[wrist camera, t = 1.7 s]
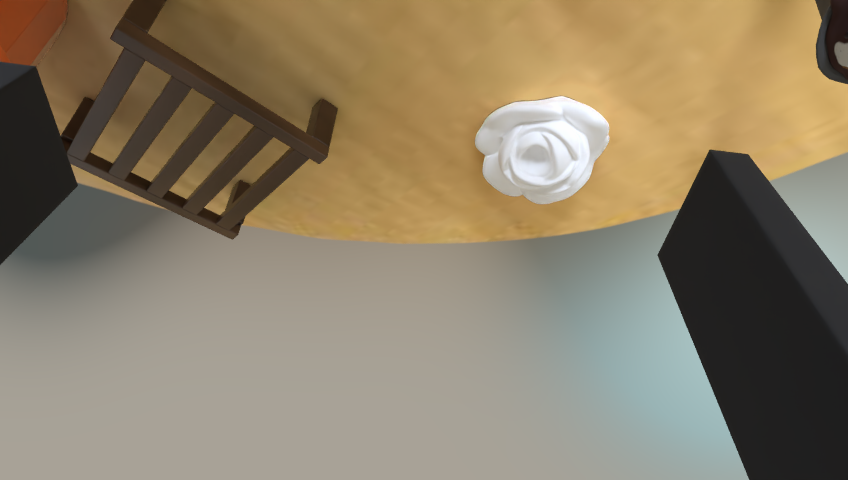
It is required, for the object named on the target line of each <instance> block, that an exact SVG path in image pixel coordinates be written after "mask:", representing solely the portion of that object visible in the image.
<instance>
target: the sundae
mask: <svg viewBox="0 0 848 480" xmlns="http://www.w3.org/2000/svg"><path fill="white" fill-rule="evenodd" d="M815 1H816V4H817V7H818V10H819V13H820V16H821V19H822V23H821V26H820V29H819V34H818V38H817V43H816V58H817V63H818V68H819V69H820V70H821V72H822V73H823V74H824V75H825V76H826V77H827V78H829V79H831V80H834V81H837V82H841V83H845V84H848V0H815Z"/></svg>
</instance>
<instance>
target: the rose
mask: <svg viewBox="0 0 848 480" xmlns="http://www.w3.org/2000/svg"><path fill="white" fill-rule="evenodd" d="M608 132H609V124H608V122H607V121H606V120H605V118H604V117H603V116H602V115H601V114H599V113H598V112H597V111H596V110H594V109H593V108H591V107H589V106H587V105H585V104H583V103H579V102H577V101H575V100H573V99H570V98H567V97H564V96H558V97H553V98H549V99H544V100H538V101H520V102H513V103H511V104H508V105H505V106H503V107H501V108H499V109H497V110H495V111H494V112H493V113H491V114H490V115H489V116H488V117H487V118H486V119H485V121H484V123H483V125H482V126H481V128H480V129H479V131H478V132H477V134H476V138H475V146H476V148H477V149H478V150H479V151H480V152H482V153H483V154H484V155H485V158H484V162H483V169H482V171H483V176H484V178H485V179H486V181H487V182H488V183H489V184H490V185H492V186H493V187H494V188H495V189H497V190H498V191H500V192H501V193H503V194H506V195H509V196H520V195H524V196H525V197H526V198H527V199H528V200H530V201H531V202H534V203H536V204H549V203H553V202H556V201H561V200H564V199H566V198H568V197H570V196H572V195H573V194H575V193H576V192H577V191H578V190H579V189H580V188H581V187H582V186H583V185H584V184H585V183H586V182H587V180H588V179H589V177H590V175H591V172H592V168H593V164H594V162H595V160H596V159H597V158H598V157H599V156H600V155H601V153H602V152H603V151H604V149H605V148H606V146H607V144H608V142H609V136H608Z"/></svg>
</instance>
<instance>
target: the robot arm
mask: <svg viewBox="0 0 848 480" xmlns="http://www.w3.org/2000/svg"><path fill="white" fill-rule="evenodd" d="M77 186H78V185H77V182H76V179H75V176H74V173H73V170H72V167H71V165H70V162H69V159H68V156H67V153H66V150H65V148H64V145H63V142H62V139H61V136H60V133H59V131H58V128H57V125H56V122H55V119H54V116H53V114H52V111H51V108H50V105H49V102H48V99H47V96H46V94H45V91H44V88H43V85H42V82H41V79H40V77H39V74H38V71H37V68H36V66H30V65H22V64H14V63H6V62H0V264H1V263H3V261H4V260H5V259H6V258H7V257H8V256H9V255H10V254H11V253H12V252H13V251H14V250H15V249H16V248H17V247H18V246H19V245H20V244H21V243H22V242H23V241H24V240H25V239H26V238H27V237H28V236H29V235H30V234H31V233H32V232H33V231H34V230H35V229H36V228H37V227H38V226H39V225H40V223H42V222H43V220H45V219H46V218H47V217H48V216H49V215H50V213H52V211H53V210H54V209H55V208H56V207H57V206H58V205H59V204H60V203H61V202H62V201H63V200H64V199H65V198H66V197H67V196H68V195H69V194H70V193H71V192H72V191H73V190H74V189H75V188H76V187H77ZM658 257H659V260H660V262H661V265H662V267H663V270H664V272H665V275H666V277H667V279H668V282H669V284H670V287H671V289H672V292H673V294H674V297H675V299H676V301H677V304H678V306H679V309H680V311H681V314H682V316H683V319H684V321H685V324H686V326H687V328H688V331H689V333H690V336H691V338H692V340H693V343H694V345H695V348H696V350H697V353H698V355H699V358H700V360H701V363H702V365H703V368H704V370H705V372H706V375H707V377H708V380H709V382H710V384H711V387H712V389H713V392H714V395H715V397H716V399H717V402H718V404H719V407H720V409H721V412H722V414H723V417H724V419H725V421H726V424H727V426H728V429H729V431H730V434H731V436H732V439H733V441H734V443H735V446H736V448H737V451H738V453H739V456H740V458H741V461H742V463H743V465H744V468H745V470H746V473H747V475H748V478H749V480H848V284H847V283H846V281H845V280H844V279H843V277H842V276H841V275H840V273H839V272H838V271H837V269H836V268H835V267H834V266H833V264H832V263H831V262H830V260H829V259H828V258H827V257H826V255H825V254H824V253H823V251H822V250H821V249H820V247H819V246H818V245H817V243H816V242H815V241H814V240H813V238H812V237H811V236H810V234H809V233H808V232H807V230H806V229H805V228H804V227H803V225H802V224H801V223H800V221H799V220H798V219H797V217H796V216H795V215H794V213H793V212H792V211H791V210H790V208H789V207H788V206H787V204H786V203H785V202H784V200H783V199H782V198H781V197H780V195H779V194H778V193H777V191H776V190H775V189H774V187H773V186H772V185H771V184H770V182H769V181H768V180H767V178H766V177H765V176H764V174H763V173H762V172H761V171H760V169H759V168H758V167H757V165H756V164H755V163H754V161H753V160H752V159H751V158H750V156H749V155H748V154H741V153H733V152H725V151H717V150H709V152H708V154H707V156H706V158H705V160H704V162H703V164H702V166H701V168H700V170H699V172H698V174H697V176H696V178H695V180H694V182H693V184H692V186H691V189H690V191H689V193H688V195H687V197H686V199H685V201H684V203H683V205H682V207H681V209H680V211H679V213H678V215H677V217H676V219H675V221H674V223H673V225H672V227H671V229H670V231H669V233H668V235H667V237H666V239H665V241H664V243H663V245H662V247H661V249H660V251H659V253H658Z"/></svg>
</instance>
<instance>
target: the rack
mask: <svg viewBox="0 0 848 480" xmlns="http://www.w3.org/2000/svg"><path fill="white" fill-rule="evenodd" d="M165 2H166V0H133V2H132V3H131V5H130V6H129V8H128V9H127V11H126V12H125V14H124V15H123V17H122V19H121V20H120V22H119V23H118V25H117V26H116V28H115V30H114V31H113V33H112V35H111V37H110V39H111V40H113V41H114V42H116V43H118V44H119V45H121V46H123V47H124V49H123V51H122V53H121V55H120V56H119V58H118V60H117V62H116V64H115V65H114V67H113V69H112V71H111V73H110V75H109V76H108V78H107V80H106V82H105V84H104V85H103V87H102V89H101V91H100V93H99V94H98V96H97V98H96V100H95V102H94V101H92V100H90V99H88V98H86V97H85V98H84V99H83V101H82V102H81V104H80V106H79V107H78V109H77V110H76V112H75V114H74V115H73V117H72V118H71V120H70V122H69V123H68V125H67V126H66V128H65V130H64V131H63V133H62V134H61V139H62V142H63V145H64V148H65V150H66V153H67V156H68V159H69V162H70V164H72V165H74V166H76V167H79V168H81V169H83V170H85V171H87V172H89V173H91V174H94V175H96V176H98V177H100V178H102V179H104V180H106V181H108V182H111V183H113V184H115V185H117V186H119V187H121V188H123V189H126V190H128V191H130V192H132V193H134V194H136V195H138V196H141V197H143V198H145V199H147V200H149V201H151V202H153V203H155V204H158V205H160V206H162V207H164V208H166V209H168V210H170V211H173V212H175V213H177V214H179V215H181V216H183V217H185V218H188V219H190V220H192V221H194V222H196V223H198V224H200V225H202V226H205V227H207V228H209V229H211V230H213V231H215V232H217V233H220V234H222V235H224V236H226V237H228V238H231V239H234V238H235V237H236V236H237V235H238V233H239V230H240V227H241V225H242V224H243V222H244V219H245V216H246V215H247V214H248V213H249V212H250V211H252V210H253V209H254V208H255V207H256V206H257V205H258V204H259V203H260V202H262V201H263V200H264V199H265V198H266V197H267V196H268V195H269V194H270V193H272V192H273V191H274V190H275V189H276V188H277V187H278V186H279V185H281V184H282V183H283V182H284V181H285V180H286V179H287V178H288V177H289V176H291V175H292V174H293V173H294V172H295V171H296V170H297V169H298V168H299V167H301V166H302V165H303V164H304V163H305V162H306V161H307V160H308V159H309V158H310V159H311V160H313V161H315V162H316V163H318V164H320V163H321V162H323V161H324V160H325V159H326V158H327V156H328V152H329V146H330V142H331V137H332V133H333V128H334V124H335V119H336V115H337V110H338V108H336V107H335V106H334V105H332V104H331V103H329V102H328V101H326V100H325V99H323V98H322V99H321V100H320V101H319V102H318V103H317V104H316V105H315V106H314V107H313V108H312V112H311V115H310V119H309V123H308V127H307V131H306V132H304V131H302V130H301V129H299V128H298V127H296V126H294V125H293V124H291V123H290V122H288V121H286V120H285V119H283V118H282V117H280V116H278V115H277V114H275V113H274V112H272V111H270V110H269V109H267V108H266V107H264V106H262V105H261V104H259V103H258V102H256V101H254V100H253V99H251V98H250V97H248V96H246V95H245V94H243V93H242V92H240V91H238V90H237V89H235V88H234V87H232V86H230V85H229V84H227V83H226V82H224V81H222V80H221V79H219V78H218V77H216V76H214V75H213V74H211V73H210V72H208V71H206V70H205V69H203V68H202V67H200V66H198V65H197V64H195V63H194V62H192V61H190V60H189V59H187V58H186V57H184V56H182V55H181V54H179V53H178V52H176V51H174V50H173V49H171V48H170V47H168V46H167V45H165V44H163V43H162V42H160V41H159V40H157V39H155V38H154V37H152V36H151V35H149V34H147V33H148V31H149V29H150V28H151V26H152V24H153V23H154V21H155V19H156V18H157V16H158V14H159V12H160V11H161V9H162V7H163V6H164V4H165ZM145 60H146V61H148V62H149V63H151V64H153V65H154V66H156V67H158V68H159V69H161V70H163V71H164V72H166V73H168V74H169V75H171V78H170V79H169V81H168V82H167V84H166V85H165V87H164V88H163V90H162V91H161V93H160V94H159V96H158V97H157V99H156V100H155V102H154V103H153V105H152V106H151V108H150V109H149V111H148V112H147V113H146V115H145V116H144V118H143V119H142V121H141V122H140V124H139V125H138V127H137V128H136V130H135V131H134V133H133V134H132V136H131V137H130V139H129V140H128V142H127V143H126V145H125V146H124V148H123V149H122V151H121V152H120V154H119V155H118V157H117V158H116V160H115V161H114V163H111V162H109V161H107V160H105V159H103V158H101V157H98V156H96V155H94V154H92V153H90V151H91V150H92V148H93V146H94V145H95V143H96V141H97V140H98V138H99V136H100V135H101V133H102V132H103V130H104V128H105V127H106V125H107V123H108V122H109V120H110V118H111V117H112V115H113V113H114V112H115V110H116V108H117V107H118V105H119V103H120V102H121V100H122V98H123V97H124V95H125V93H126V92H127V90H128V88H129V87H130V85H131V84H132V82H133V80H134V79H135V77H136V75H137V74H138V72H139V70H140V69H141V67H142V65H143V64H144V62H145ZM192 88H193V89H195V90H196V91H198V92H200V93H201V94H203V95H205V96H206V97H208V98H210V99H211V100H213V101H215V102H214V104H213V105H212V106H211V107H210V109H209V110H208V111H207V112H206V114H205V115H204V116H203V117H202V119H201V120H200V121H199V122H198V124H197V125H196V126H195V127H194V129H193V130H192V131H191V132H190V134H189V135H188V136H187V138H186V139H185V140H184V141H183V143H182V144H181V145H180V146H179V148H178V149H177V150H176V151H175V153H174V154H173V155H172V156H171V158H170V159H169V160H168V161H167V163H166V164H165V165H164V166H163V168H162V169H161V170H160V171H159V173H158V174H157V175H156V176H155V178H154V179H153V180H152V181H151V182H150V181H148V180H146V179H144V178H142V177H140V176H138V175H135V174H133V173H131V171H132V170H133V168H134V167H135V165H136V164H137V163H138V161H139V160H140V159H141V157H142V156H143V154H144V153H145V152H146V150H147V149H148V148H149V146H150V145H151V144H152V142H153V141H154V139H155V138H156V137H157V135H158V134H159V133H160V131H161V130H162V128H163V127H164V126H165V124H166V123H167V122H168V120H169V119H170V117H171V116H172V115H173V113H174V112H175V111H176V109H177V108H178V106H179V105H180V104H181V102H182V101H183V100H184V98H185V97H186V95H187V94H188V93H189V91H190V90H191V89H192ZM234 113H235V114H236V115H238V116H240V117H241V118H243V119H245V120H246V121H248V122H250V123H251V124H253V125H255V126H254V127H253V128H252V129H251V130H250V131H249V132H248V133H247V134H246V135H245V136H244V138H243V139H242V140H241V141H240V142H239V143H238V144H237V145H236V146H235V147H234V148H233V150H232V151H231V152H230V153H229V154H228V155H227V156H226V157H225V158H224V159H223V160H222V161H221V163H220V164H219V165H218V166H217V167H216V168H215V169H214V170H213V171H212V172H211V173H210V175H209V176H208V177H207V178H206V179H205V180H204V181H203V182H202V183H201V184H200V185H199V186H198V188H197V189H196V190H195V191H194V192H193V193H192V194H191V195H190V196H189V197H188V198H187V199H185V198H183V197H181V196H179V195H177V194H175V193H172V192H170V191H169V189H170V188H171V187H172V186H173V185H174V183H175V182H176V181H177V180H178V179H179V178H180V176H181V175H182V174H183V173H184V172H185V171H186V169H187V168H188V167H189V166H190V165H191V164H192V162H193V161H194V160H195V159H196V158H197V157H198V155H199V154H200V153H201V152H202V151H203V150H204V148H205V147H206V146H207V145H208V144H209V143H210V141H211V140H212V139H213V138H214V137H215V136H216V134H217V133H218V132H219V131H220V130H221V129H222V127H223V126H224V125H225V124H226V123H227V122H228V120H229V119H230V118H231V117H232V116H233V115H234ZM273 137H275V138H276V139H278V140H280V141H281V142H283V143H285V144H286V145H288V146H290V147H291V148H290V149H289V150H288V151H287V152H286V153H285V154H284V155H283V156H282V157H281V158H280V159H279V160H278V161H276V162H275V163H274V164H273V165H272V166H271V167H270V168H269V169H268V170H267V171H266V172H265V173H264V174H263V175H262V176H261V177H260V178H259V179H258V180H257V181H256V182H254V183H253V184H252V185H249V184H247V183H245V182H243V181H241V180H240V181H239V182H238V183H237V184H236V185H235V186H234V187H233V188H232V191H231V194H230V197H229V200H228V203H227V206H226V209H225V211H224V212H223V213H222V214H221V215H218V214H216V213H214V212H212V211H209V210H207V209H205V208H204V207H205V206H206V205H207V204H208V203H209V202H210V201H211V200H212V199H213V198H214V197H215V196H216V195H217V194H218V193H219V192H220V191H221V190H222V189H223V188H224V187H225V186H226V185H227V184H228V183H229V182H230V181H231V180H232V179H233V177H234V176H235V175H236V174H237V173H238V172H239V171H240V170H241V169H242V168H243V167H244V166H245V165H246V164H247V163H248V162H249V161H250V160H251V159H252V158H253V157H254V156H255V155H256V154H257V153H258V152H259V151H260V150H261V149H262V148H263V147H264V146H265V145H266V144H267V143H268V142H269V141H270V140H271V139H272V138H273Z"/></svg>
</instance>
